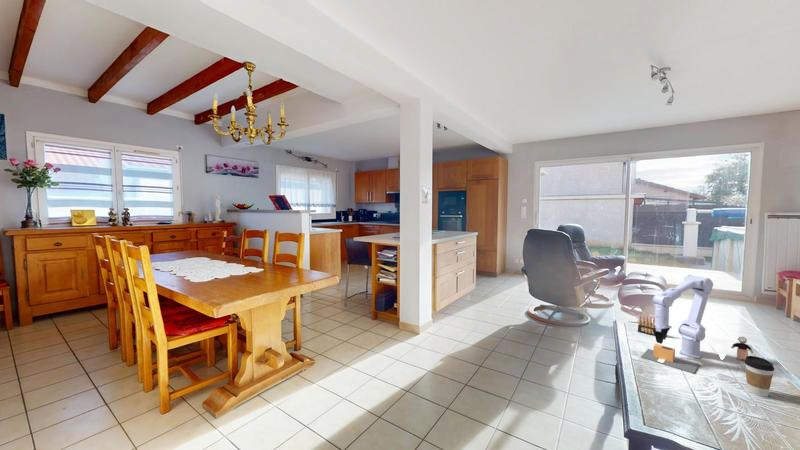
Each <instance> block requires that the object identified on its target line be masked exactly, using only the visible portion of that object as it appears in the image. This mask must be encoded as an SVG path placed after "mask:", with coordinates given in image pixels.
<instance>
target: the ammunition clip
mask: <svg viewBox="0 0 800 450" xmlns="http://www.w3.org/2000/svg"><path fill="white" fill-rule="evenodd" d="M637 323H638V325H637V332H638V333H640V334H645V335H649V336H653V337H655V334H654V332H653V331H652V329H656V327H655V325H654V323H655V317H653V318H652V316H650V317H649V316H648V315H646V317H645V315H644V314H643V315H642V314H639V316H638V322H637Z"/></svg>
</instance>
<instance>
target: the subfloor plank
mask: <svg viewBox="0 0 800 450" xmlns="http://www.w3.org/2000/svg"><path fill="white" fill-rule="evenodd" d="M653 353H654V349H650V348H647V349H646V351H644V352H643V353H642V355H640V358H642V359H645V360H648V361H650V362H654V363H657V364H661V365H664V366H667V367H671V368H674V369H676V370H680V371H683V372H686V373H689V374H693V375H694V374H695V373H696V371H697V370H698V368H699V367H700V363H698V362H694V361H691V360H688V359H684V358H681V357H678V356H675V360H674V361H673V362H670V361H667V360H664V359H660V358H657V357H654V356H653Z"/></svg>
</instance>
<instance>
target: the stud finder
mask: <svg viewBox="0 0 800 450" xmlns="http://www.w3.org/2000/svg"><path fill="white" fill-rule="evenodd" d="M653 350H654V353H653V356H654V357H657V358H660V359H664V360H667V361H670V362H673V361H674V360H675V357H676V349H675V348H673V347H670V346H666V345H663V344H662V345H661V344H659V343H655V344H654V345H653Z"/></svg>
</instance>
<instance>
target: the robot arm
mask: <svg viewBox="0 0 800 450" xmlns="http://www.w3.org/2000/svg"><path fill="white" fill-rule="evenodd" d="M713 287H714V283H713V281H712V279H711V278H708V277H703V276H696V275H692V274H688V275H687V276H685V277H684V279H683V281H682V282H680V283H679V284H678V285H677V286H676V287H669V288H668V289H667V290H665V291H663V292H662V293H657V294H654V295H653V297H652V299H651V300H652V303H653V306H654V318H655V323H654V325H655V328H656V329H652V331H653V332H654V334H655V336H654V337H655V342H656V344H659V345H661V344H662V345H663V343H664V340H666V338H667V336H668V333H669V331H670V329H672V328H673V327H672V326H671V325H670V322H669V321H670V307H672V305H673V304H674V302H675V300H677V299H679V298H680V297H682V293H684V292H686V291H688V290H691V291H693V292H694V297H693V300H692V303H691V306H690V310H689V313H688V317H687V319H686V320H685V319H684V320H682V321H681V323H680V324H679V326H678V328H677V331H678V333H679V335H680V337H681V350H680V351H679V354H682V355H685V356H688V357H692V358H695V359H700V358H701V357H702V354H703V352H702V351H701V342H702V341H703V340H705V339H706V338H705V337H706V330H707V329H706V327H704V326H703V324H701V322H702V319H703V317H704V313H705V310H706V306H707V303H708V299H709V296H710V295H711V294H712V290H713Z"/></svg>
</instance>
